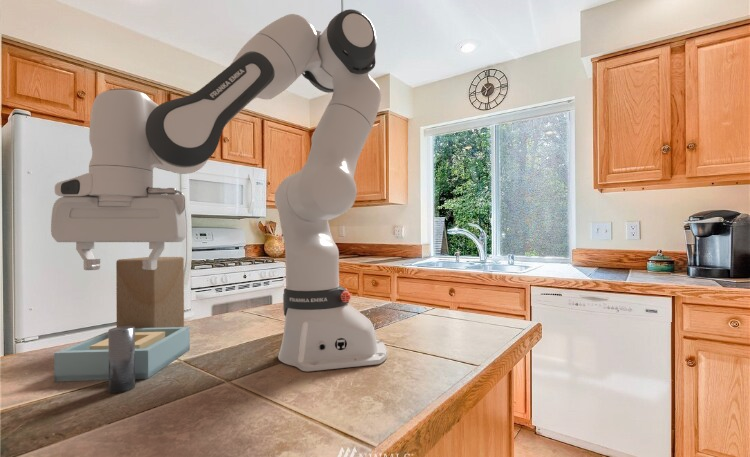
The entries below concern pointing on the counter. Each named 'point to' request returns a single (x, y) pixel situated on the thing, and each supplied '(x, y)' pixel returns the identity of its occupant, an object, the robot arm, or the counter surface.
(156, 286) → the wooden block
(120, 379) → the peg
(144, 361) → the bin
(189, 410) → the counter surface
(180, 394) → the counter surface
